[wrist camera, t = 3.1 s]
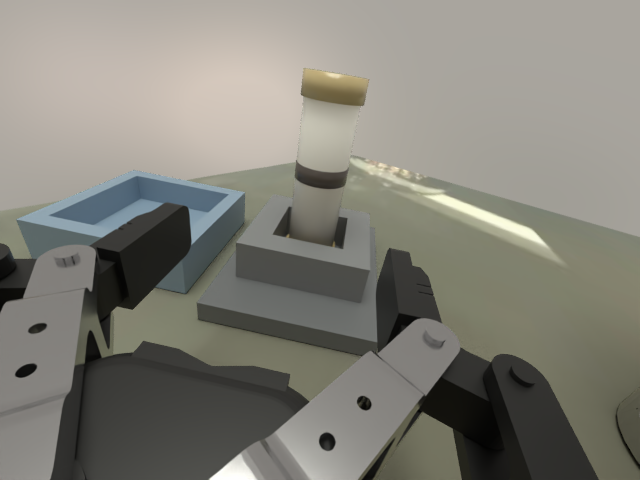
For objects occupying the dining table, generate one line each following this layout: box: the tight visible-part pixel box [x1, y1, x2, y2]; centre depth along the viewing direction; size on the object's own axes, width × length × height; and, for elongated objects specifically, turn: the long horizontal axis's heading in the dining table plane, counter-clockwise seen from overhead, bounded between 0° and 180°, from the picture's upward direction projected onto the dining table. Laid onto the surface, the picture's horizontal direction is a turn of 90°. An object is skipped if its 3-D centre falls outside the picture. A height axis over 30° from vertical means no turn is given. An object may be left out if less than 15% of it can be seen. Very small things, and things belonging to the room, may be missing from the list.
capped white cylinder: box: [286, 68, 369, 247], centre depth 22 cm, size 4×4×14 cm
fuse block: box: [197, 194, 377, 356], centre depth 26 cm, size 12×16×4 cm
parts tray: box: [16, 170, 245, 294], centre depth 26 cm, size 12×12×4 cm
